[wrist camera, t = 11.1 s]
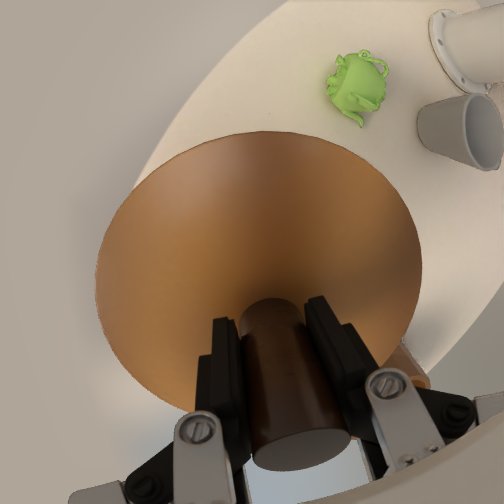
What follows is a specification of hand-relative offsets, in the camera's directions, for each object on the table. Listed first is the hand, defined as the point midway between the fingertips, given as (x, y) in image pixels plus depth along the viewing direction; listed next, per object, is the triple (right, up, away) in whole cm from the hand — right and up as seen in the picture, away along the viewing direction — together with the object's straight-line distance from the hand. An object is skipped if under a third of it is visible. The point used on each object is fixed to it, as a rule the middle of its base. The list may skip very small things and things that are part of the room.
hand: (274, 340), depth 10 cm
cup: (+21, +17, +14) cm, 31 cm away
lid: (0, +1, +2) cm, 2 cm away
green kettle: (+8, +19, +12) cm, 24 cm away
